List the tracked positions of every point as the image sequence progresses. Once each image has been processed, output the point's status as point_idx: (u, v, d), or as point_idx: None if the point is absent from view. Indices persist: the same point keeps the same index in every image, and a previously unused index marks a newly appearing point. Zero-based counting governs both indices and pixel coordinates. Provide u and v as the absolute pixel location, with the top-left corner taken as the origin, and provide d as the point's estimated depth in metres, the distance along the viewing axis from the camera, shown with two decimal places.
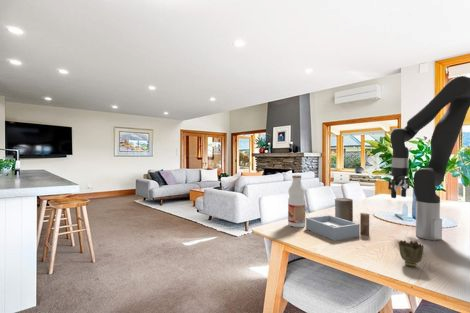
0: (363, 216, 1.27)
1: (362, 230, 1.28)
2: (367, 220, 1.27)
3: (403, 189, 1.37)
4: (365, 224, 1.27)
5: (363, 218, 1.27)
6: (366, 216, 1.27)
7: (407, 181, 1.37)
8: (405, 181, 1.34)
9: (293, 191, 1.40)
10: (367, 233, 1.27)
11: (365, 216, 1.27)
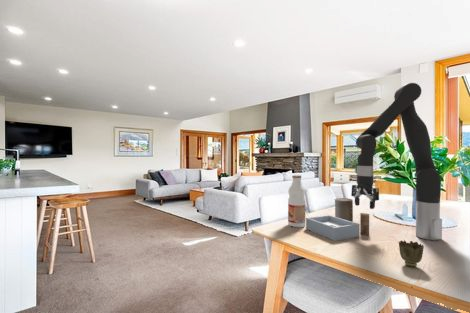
0: (363, 216, 1.27)
1: (362, 230, 1.28)
2: (367, 220, 1.27)
3: (357, 197, 1.33)
4: (365, 224, 1.27)
5: (363, 218, 1.27)
6: (366, 216, 1.27)
7: (356, 189, 1.35)
8: None
9: (293, 191, 1.40)
10: (367, 233, 1.27)
11: (365, 216, 1.27)
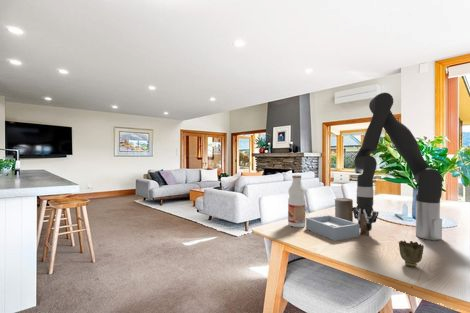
0: (363, 216, 1.27)
1: (362, 230, 1.28)
2: None
3: None
4: (365, 224, 1.27)
5: (363, 218, 1.27)
6: None
7: (357, 210, 1.34)
8: None
9: (293, 191, 1.40)
10: (367, 233, 1.27)
11: None
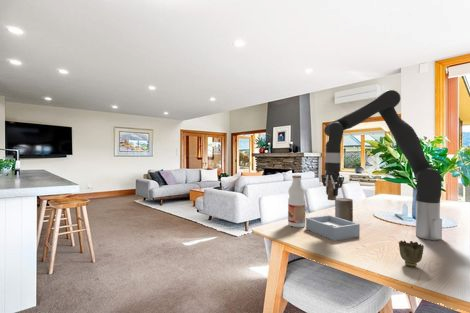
0: (330, 182, 1.29)
1: (329, 196, 1.30)
2: None
3: None
4: (332, 190, 1.29)
5: (330, 184, 1.29)
6: None
7: (326, 178, 1.36)
8: None
9: (293, 191, 1.40)
10: (333, 198, 1.29)
11: None
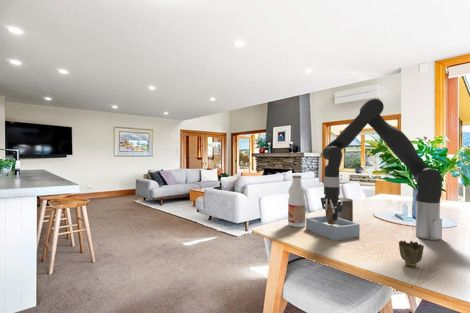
0: (329, 206, 1.29)
1: (329, 220, 1.30)
2: None
3: None
4: (332, 214, 1.29)
5: (330, 208, 1.29)
6: None
7: (325, 201, 1.35)
8: None
9: (293, 191, 1.40)
10: (333, 223, 1.29)
11: None
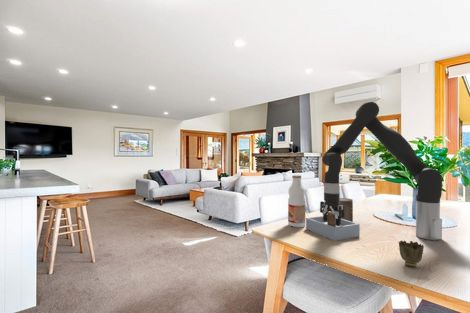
0: (329, 215, 1.29)
1: None
2: (333, 219, 1.29)
3: (325, 214, 1.34)
4: (332, 223, 1.29)
5: (330, 217, 1.29)
6: (333, 215, 1.29)
7: None
8: None
9: (293, 191, 1.40)
10: None
11: (331, 215, 1.29)
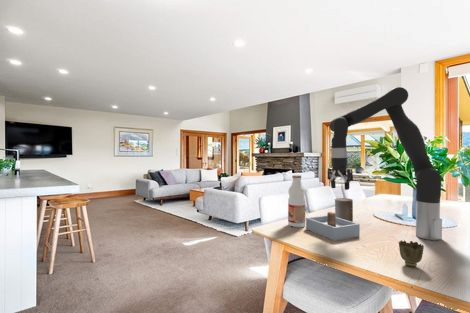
0: (329, 215, 1.29)
1: None
2: (333, 219, 1.29)
3: (333, 180, 1.35)
4: (332, 223, 1.29)
5: (330, 217, 1.29)
6: (333, 215, 1.29)
7: (332, 172, 1.37)
8: None
9: (293, 191, 1.40)
10: None
11: (331, 215, 1.29)
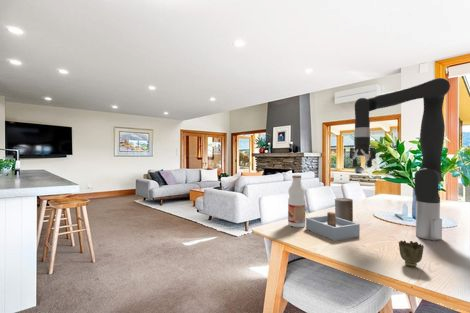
0: (329, 215, 1.29)
1: None
2: (333, 219, 1.29)
3: (355, 159, 1.40)
4: (332, 223, 1.29)
5: (330, 217, 1.29)
6: (333, 215, 1.29)
7: None
8: None
9: (293, 191, 1.40)
10: None
11: (331, 215, 1.29)
